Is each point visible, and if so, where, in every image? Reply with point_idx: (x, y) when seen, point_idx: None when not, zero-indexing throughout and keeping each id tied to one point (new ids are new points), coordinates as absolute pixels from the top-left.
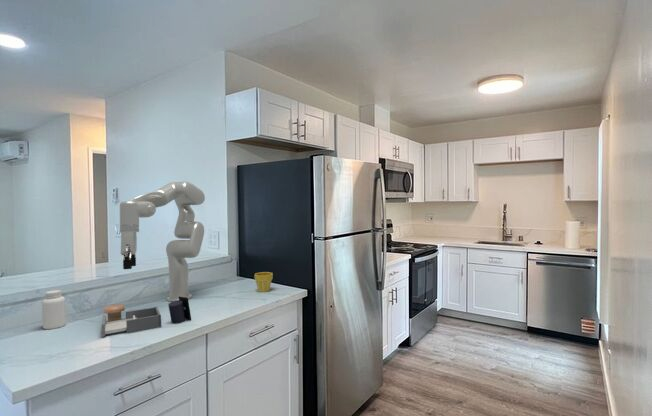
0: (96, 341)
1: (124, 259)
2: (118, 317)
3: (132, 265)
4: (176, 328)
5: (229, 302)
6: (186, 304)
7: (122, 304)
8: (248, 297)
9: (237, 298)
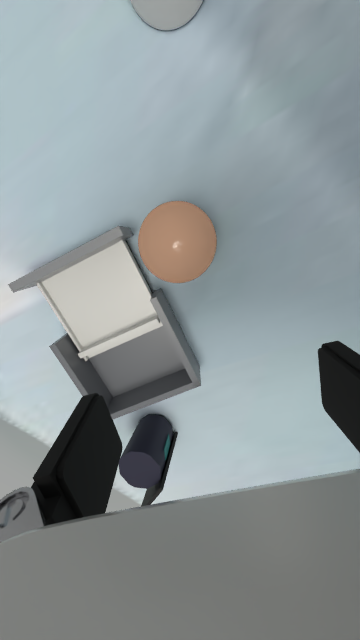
0: (10, 275)
1: (4, 512)
2: None
3: (324, 388)
4: None
5: None
6: (150, 487)
7: (199, 269)
8: None
9: None
